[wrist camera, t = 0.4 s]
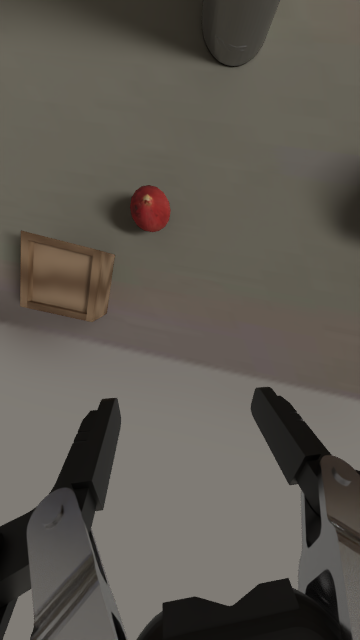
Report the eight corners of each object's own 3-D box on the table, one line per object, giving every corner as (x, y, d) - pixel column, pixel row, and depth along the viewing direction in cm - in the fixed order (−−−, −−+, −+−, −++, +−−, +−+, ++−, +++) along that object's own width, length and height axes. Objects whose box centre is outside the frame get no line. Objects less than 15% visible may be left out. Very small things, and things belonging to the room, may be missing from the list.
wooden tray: (50, 238, 30) (20, 230, 24) (114, 255, 31) (100, 250, 25) (47, 300, 33) (20, 306, 27) (106, 313, 34) (92, 322, 28)
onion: (141, 239, 30) (129, 227, 23) (132, 202, 29) (116, 176, 21) (173, 232, 30) (173, 218, 22) (166, 195, 29) (163, 166, 21)
